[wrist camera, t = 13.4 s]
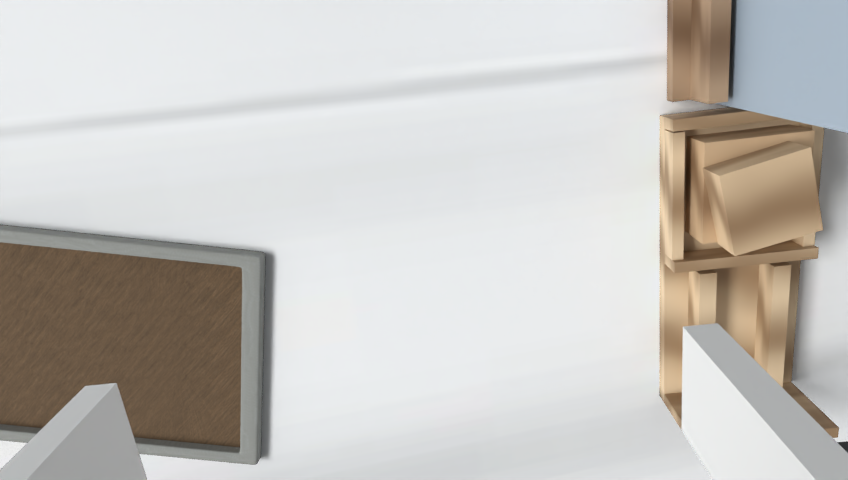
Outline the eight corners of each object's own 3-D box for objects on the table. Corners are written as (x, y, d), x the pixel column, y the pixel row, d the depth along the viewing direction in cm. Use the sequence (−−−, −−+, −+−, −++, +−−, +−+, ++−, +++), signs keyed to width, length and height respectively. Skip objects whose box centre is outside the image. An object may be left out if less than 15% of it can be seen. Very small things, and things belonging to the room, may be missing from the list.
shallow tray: (257, 466, 52) (-97, 431, 51) (262, 453, 53) (-82, 420, 53) (262, 256, 46) (-139, 215, 45) (267, 249, 47) (-120, 209, 47)
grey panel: (720, -39, 39) (885, -85, 25) (767, -45, 39) (961, -95, 24) (716, 103, 42) (862, 136, 27) (760, 98, 42) (930, 128, 27)
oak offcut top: (702, 167, 40) (719, 175, 38) (788, 140, 39) (811, 147, 37) (717, 243, 42) (734, 256, 39) (800, 219, 41) (823, 229, 39)
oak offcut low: (686, 136, 42) (704, 143, 40) (789, 124, 42) (814, 130, 39) (685, 231, 45) (702, 244, 42) (782, 220, 44) (806, 232, 41)
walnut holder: (667, -22, 40) (692, -29, 36) (806, -41, 40) (846, -49, 36) (667, 100, 43) (689, 106, 39) (798, 84, 42) (834, 88, 38)
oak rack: (659, 115, 43) (701, 129, 36) (804, 98, 42) (873, 109, 36) (659, 395, 50) (694, 450, 43) (783, 384, 50) (837, 437, 43)
